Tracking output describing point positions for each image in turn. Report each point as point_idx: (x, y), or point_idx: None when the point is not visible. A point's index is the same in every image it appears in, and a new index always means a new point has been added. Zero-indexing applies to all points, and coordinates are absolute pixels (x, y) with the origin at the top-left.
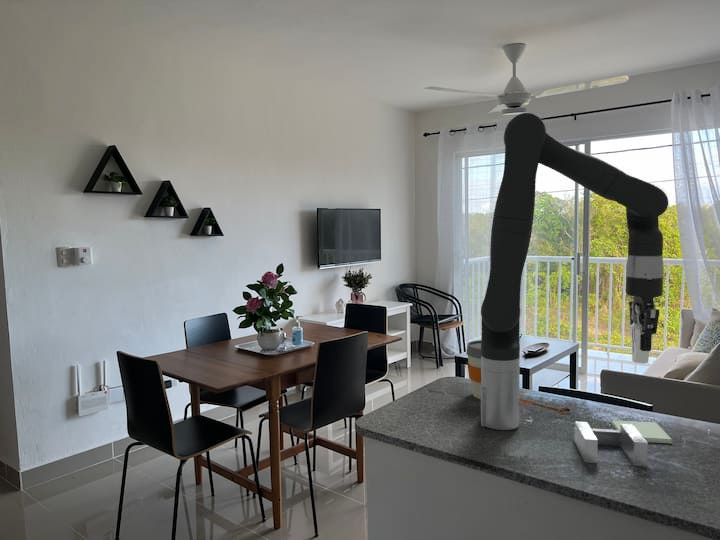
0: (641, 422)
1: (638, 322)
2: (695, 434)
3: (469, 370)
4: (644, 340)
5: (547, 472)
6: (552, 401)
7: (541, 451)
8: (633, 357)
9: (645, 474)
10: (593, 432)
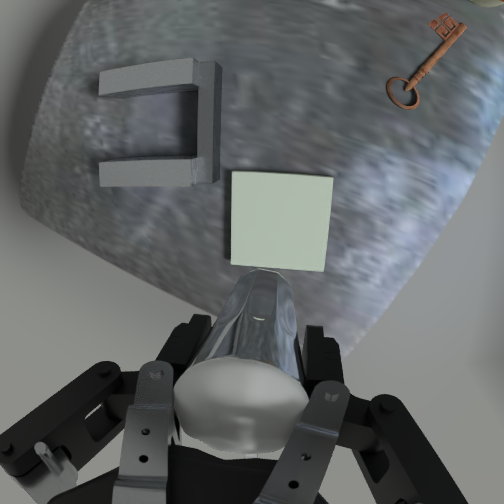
0: (322, 241)
1: (140, 408)
2: None
3: None
4: (162, 350)
5: (90, 27)
6: (467, 93)
7: (160, 11)
8: (251, 276)
9: None
10: (198, 100)
